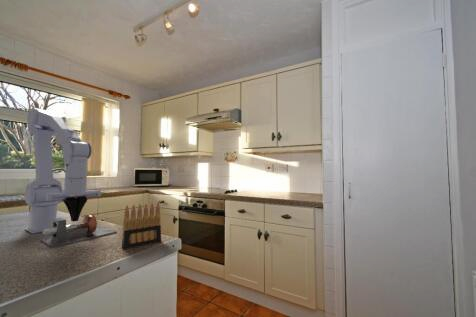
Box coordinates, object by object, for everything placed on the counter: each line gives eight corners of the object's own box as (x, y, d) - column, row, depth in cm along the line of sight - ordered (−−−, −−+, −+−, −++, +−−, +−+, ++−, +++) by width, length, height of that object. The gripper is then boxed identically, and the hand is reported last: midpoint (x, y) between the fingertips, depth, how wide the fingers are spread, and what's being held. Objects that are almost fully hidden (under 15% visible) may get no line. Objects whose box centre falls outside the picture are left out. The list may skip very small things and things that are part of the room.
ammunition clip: (123, 249, 62) (124, 206, 62) (121, 247, 63) (122, 205, 64) (161, 241, 68) (162, 202, 69) (159, 240, 70) (159, 201, 70)
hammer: (39, 241, 66) (39, 220, 67) (91, 230, 78) (91, 213, 78) (45, 245, 63) (46, 223, 63) (99, 233, 74) (99, 215, 75)
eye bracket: (40, 241, 68) (41, 218, 69) (103, 228, 83) (103, 210, 83) (51, 247, 63) (52, 223, 63) (116, 232, 77) (117, 213, 78)
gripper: (52, 179, 64) (50, 227, 63) (105, 177, 76) (104, 218, 75) (44, 179, 68) (42, 224, 67) (96, 177, 80) (95, 215, 79)
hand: (74, 220), depth 71 cm, fingers closed
